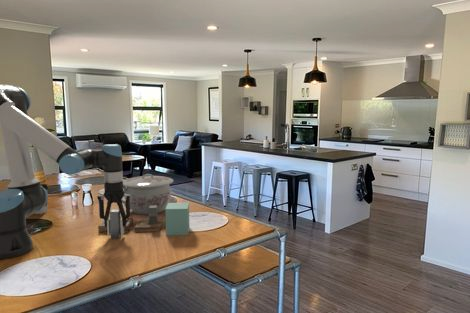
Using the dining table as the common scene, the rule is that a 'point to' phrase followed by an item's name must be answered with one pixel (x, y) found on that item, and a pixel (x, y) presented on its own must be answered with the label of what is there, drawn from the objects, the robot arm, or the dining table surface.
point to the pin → (115, 224)
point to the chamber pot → (147, 193)
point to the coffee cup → (44, 209)
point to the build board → (128, 225)
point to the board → (148, 227)
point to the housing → (177, 219)
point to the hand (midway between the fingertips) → (115, 233)
